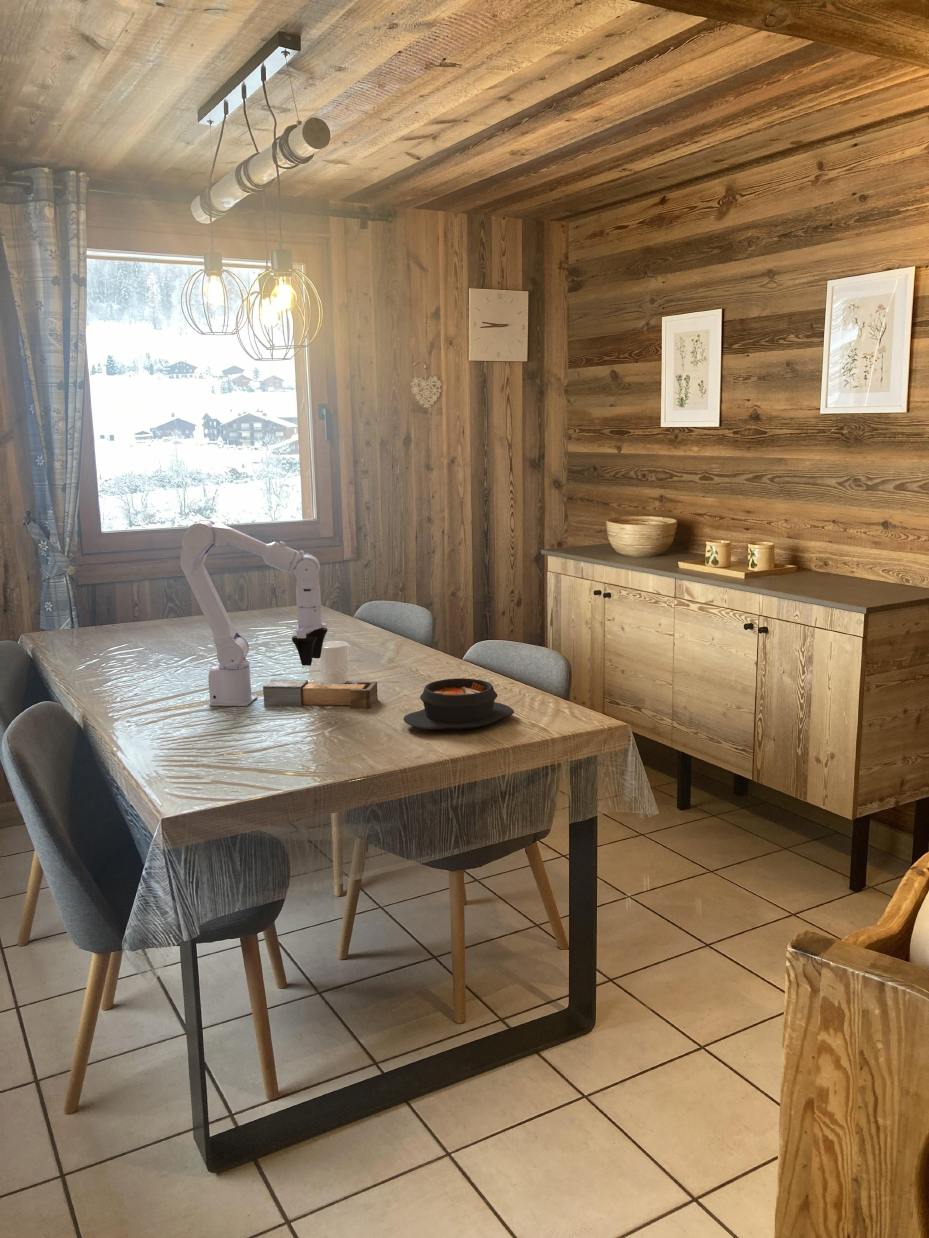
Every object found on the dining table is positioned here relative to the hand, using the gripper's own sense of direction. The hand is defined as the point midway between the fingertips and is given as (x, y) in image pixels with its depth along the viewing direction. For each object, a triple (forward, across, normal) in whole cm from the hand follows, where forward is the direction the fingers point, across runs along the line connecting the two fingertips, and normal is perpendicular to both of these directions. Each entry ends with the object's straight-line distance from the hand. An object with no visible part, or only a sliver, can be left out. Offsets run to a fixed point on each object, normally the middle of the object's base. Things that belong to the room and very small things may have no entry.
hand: (311, 661), depth 235 cm
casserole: (+9, -17, -38) cm, 43 cm away
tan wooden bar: (+9, -4, -6) cm, 11 cm away
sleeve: (+9, -4, +5) cm, 11 cm away
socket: (+9, -4, -14) cm, 17 cm away
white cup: (+9, +16, -1) cm, 19 cm away
